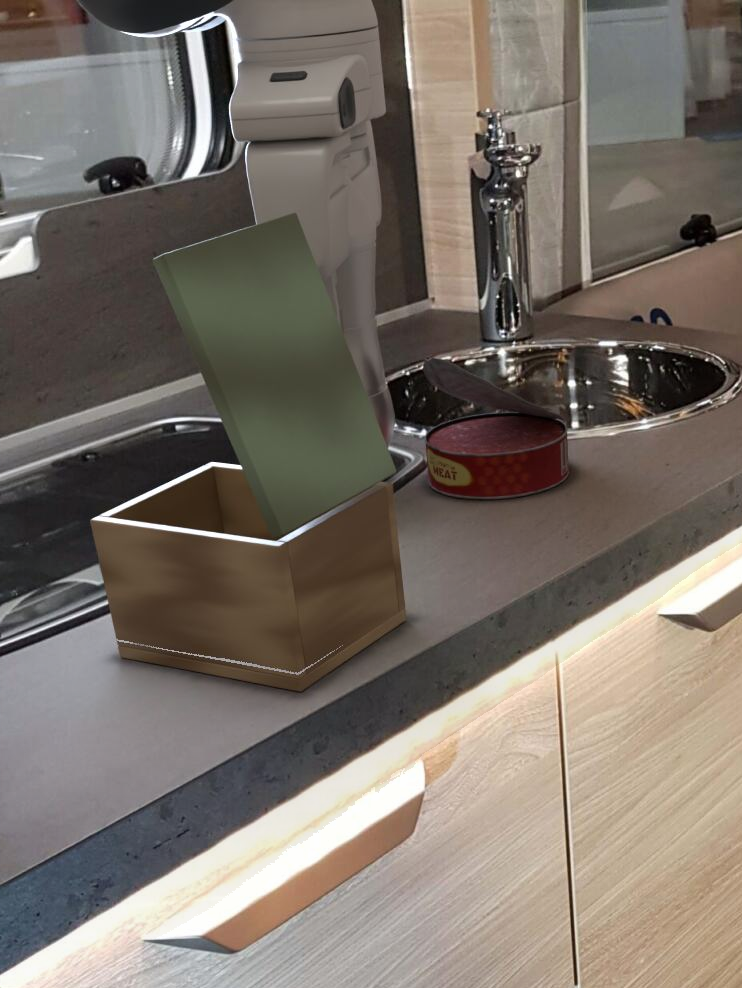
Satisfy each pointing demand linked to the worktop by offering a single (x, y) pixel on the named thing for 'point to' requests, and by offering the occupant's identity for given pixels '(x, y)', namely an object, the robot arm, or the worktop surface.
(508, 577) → the worktop surface
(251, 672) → the chest
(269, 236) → the lid
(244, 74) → the robot arm
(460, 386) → the canned food
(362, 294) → the plastic bottle
